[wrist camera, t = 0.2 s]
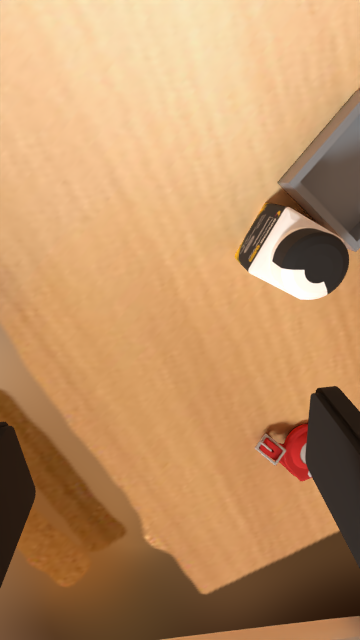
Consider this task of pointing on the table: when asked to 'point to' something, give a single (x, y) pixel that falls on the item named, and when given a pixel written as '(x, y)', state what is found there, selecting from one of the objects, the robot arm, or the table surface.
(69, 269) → the table surface
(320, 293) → the medicine bottle
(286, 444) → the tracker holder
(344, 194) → the bin
